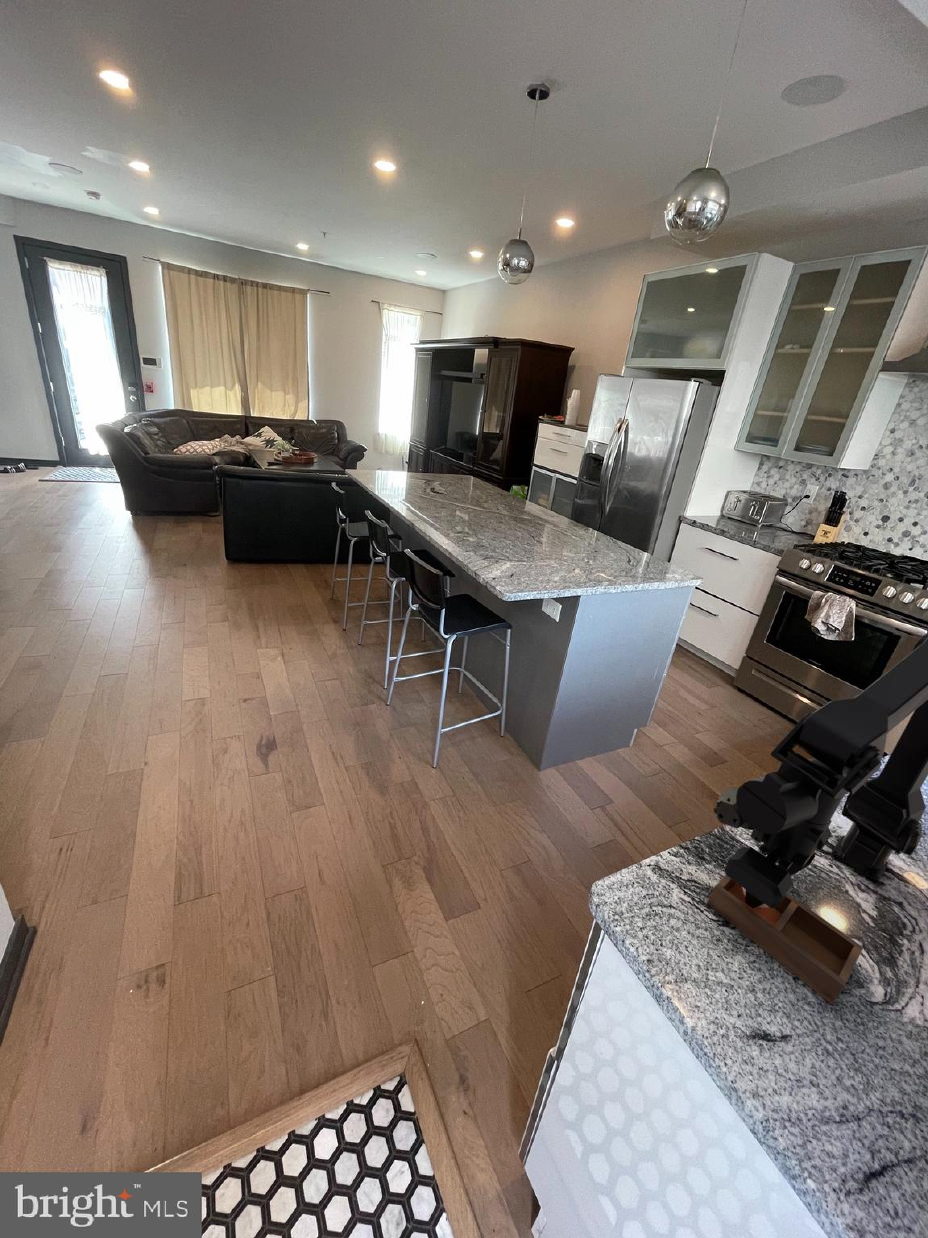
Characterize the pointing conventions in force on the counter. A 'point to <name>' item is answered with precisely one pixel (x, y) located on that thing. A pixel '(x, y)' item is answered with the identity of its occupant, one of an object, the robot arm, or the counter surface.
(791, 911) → the egg rack
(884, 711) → the robot arm
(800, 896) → the counter surface
